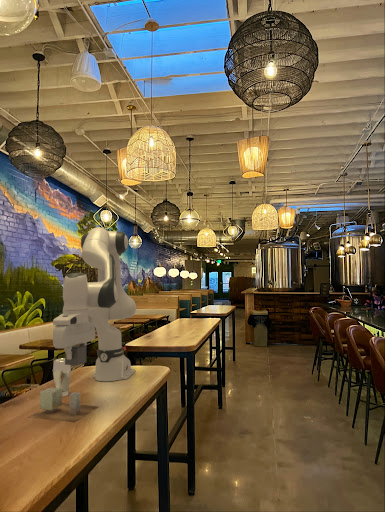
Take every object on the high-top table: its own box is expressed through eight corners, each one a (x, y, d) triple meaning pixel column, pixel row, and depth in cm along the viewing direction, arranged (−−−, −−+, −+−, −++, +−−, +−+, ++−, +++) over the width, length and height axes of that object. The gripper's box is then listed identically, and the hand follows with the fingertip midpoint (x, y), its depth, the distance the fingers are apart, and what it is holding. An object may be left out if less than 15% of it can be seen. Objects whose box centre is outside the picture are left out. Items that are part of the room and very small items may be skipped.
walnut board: (56, 405, 141) (56, 402, 141) (99, 409, 135) (99, 406, 135) (27, 419, 127) (27, 416, 127) (74, 425, 121) (74, 422, 121)
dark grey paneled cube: (74, 361, 133) (74, 344, 134) (86, 362, 132) (86, 345, 132) (65, 364, 128) (65, 347, 129) (77, 365, 127) (77, 347, 127)
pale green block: (49, 408, 135) (49, 387, 135) (61, 409, 133) (61, 388, 134) (40, 413, 130) (40, 391, 130) (52, 414, 128) (52, 392, 129)
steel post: (74, 412, 130) (73, 392, 131) (80, 412, 129) (80, 392, 130) (69, 414, 128) (69, 394, 128) (75, 415, 127) (75, 394, 127)
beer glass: (65, 399, 147) (65, 361, 148) (49, 399, 149) (49, 361, 149) (74, 394, 154) (74, 358, 155) (59, 393, 155) (59, 357, 156)
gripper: (85, 315, 142) (85, 352, 141) (49, 320, 123) (49, 362, 122) (99, 315, 140) (99, 352, 139) (65, 320, 121) (65, 363, 120)
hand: (75, 357), depth 130 cm, fingers closed on dark grey paneled cube, 5 cm apart
